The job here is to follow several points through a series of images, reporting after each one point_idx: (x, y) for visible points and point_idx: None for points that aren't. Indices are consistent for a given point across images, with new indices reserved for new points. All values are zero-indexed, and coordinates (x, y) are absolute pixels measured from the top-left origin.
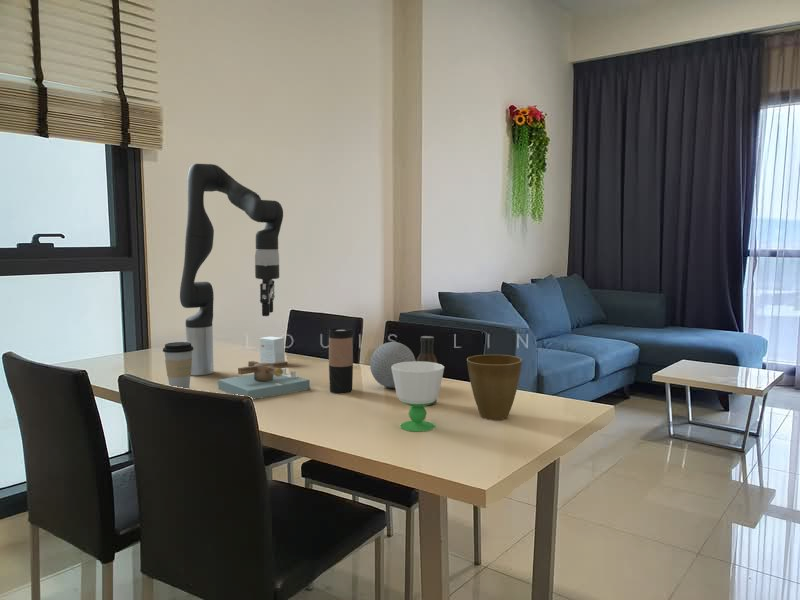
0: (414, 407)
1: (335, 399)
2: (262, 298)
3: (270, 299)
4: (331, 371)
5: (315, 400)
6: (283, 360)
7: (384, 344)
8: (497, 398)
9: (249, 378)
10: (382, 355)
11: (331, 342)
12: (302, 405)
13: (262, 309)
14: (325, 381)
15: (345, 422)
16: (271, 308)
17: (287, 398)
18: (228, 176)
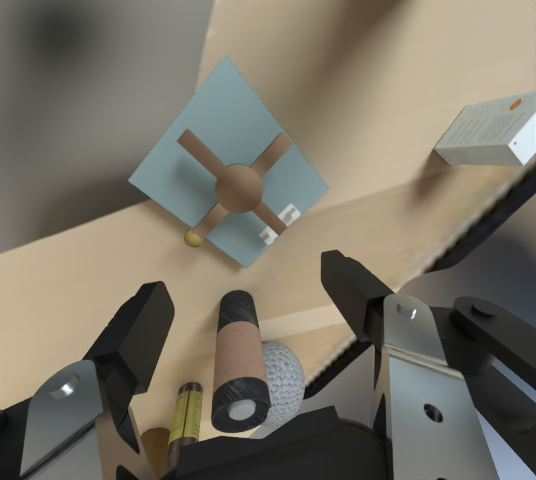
0: None
1: (186, 308)
2: (32, 452)
3: (377, 341)
4: (222, 320)
5: (173, 286)
6: (454, 162)
7: (272, 411)
8: None
9: (249, 146)
10: None
11: (218, 376)
12: (136, 277)
13: (122, 317)
14: (298, 268)
15: (68, 346)
16: (332, 292)
17: (175, 244)
18: None
